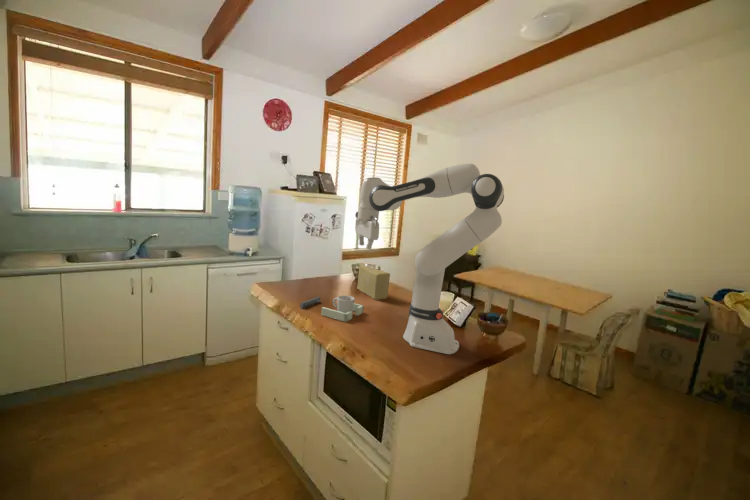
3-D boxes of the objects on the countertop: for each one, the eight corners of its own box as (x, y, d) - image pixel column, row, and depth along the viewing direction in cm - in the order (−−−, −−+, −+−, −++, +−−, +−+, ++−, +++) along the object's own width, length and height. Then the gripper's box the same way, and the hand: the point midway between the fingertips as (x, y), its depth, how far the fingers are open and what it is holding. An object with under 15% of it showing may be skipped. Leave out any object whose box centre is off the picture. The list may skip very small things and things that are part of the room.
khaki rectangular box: (351, 289, 205) (353, 264, 202) (364, 288, 211) (366, 264, 209) (374, 300, 188) (377, 273, 186) (388, 298, 194) (391, 272, 192)
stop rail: (319, 301, 175) (320, 297, 175) (302, 308, 163) (303, 303, 163) (317, 301, 176) (317, 296, 176) (300, 307, 164) (300, 302, 163)
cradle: (363, 312, 167) (363, 305, 166) (345, 322, 152) (346, 314, 151) (339, 306, 172) (340, 299, 171) (320, 314, 157) (321, 307, 157)
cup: (327, 312, 161) (328, 296, 160) (337, 308, 168) (338, 292, 167) (347, 318, 156) (348, 301, 155) (356, 314, 163) (357, 298, 162)
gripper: (384, 218, 141) (380, 251, 144) (367, 214, 160) (364, 243, 162) (370, 217, 139) (366, 251, 141) (354, 212, 158) (351, 242, 160)
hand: (365, 247), depth 152 cm, fingers open, 8 cm apart
